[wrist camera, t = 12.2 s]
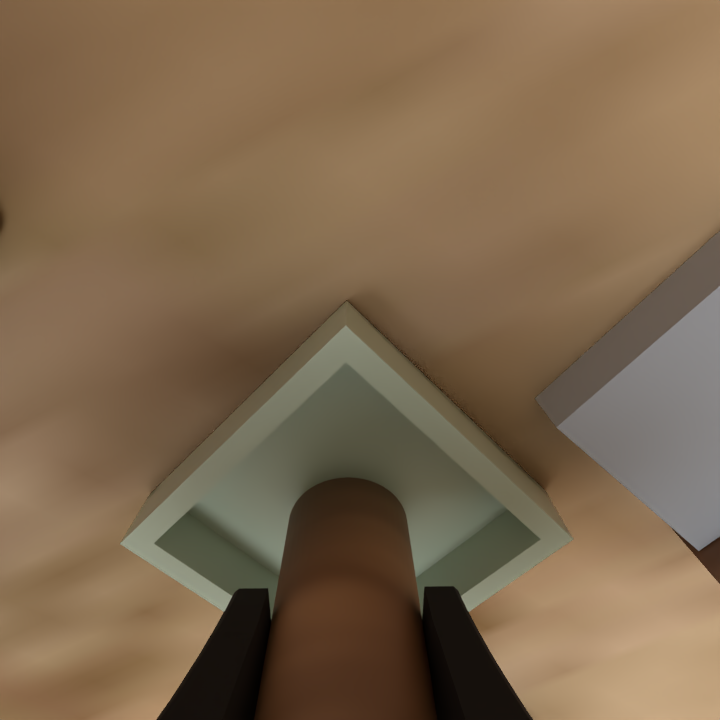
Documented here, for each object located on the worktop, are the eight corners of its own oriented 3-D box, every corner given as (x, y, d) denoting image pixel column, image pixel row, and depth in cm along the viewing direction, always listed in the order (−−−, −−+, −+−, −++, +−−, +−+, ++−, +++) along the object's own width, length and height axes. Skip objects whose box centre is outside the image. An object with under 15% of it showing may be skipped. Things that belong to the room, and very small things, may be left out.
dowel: (272, 553, 14) (200, 908, 7) (312, 461, 13) (271, 782, 6) (379, 585, 14) (401, 945, 8) (426, 499, 13) (500, 835, 7)
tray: (149, 494, 14) (119, 543, 13) (346, 300, 12) (345, 325, 11) (350, 634, 17) (349, 694, 15) (545, 490, 15) (573, 539, 13)
